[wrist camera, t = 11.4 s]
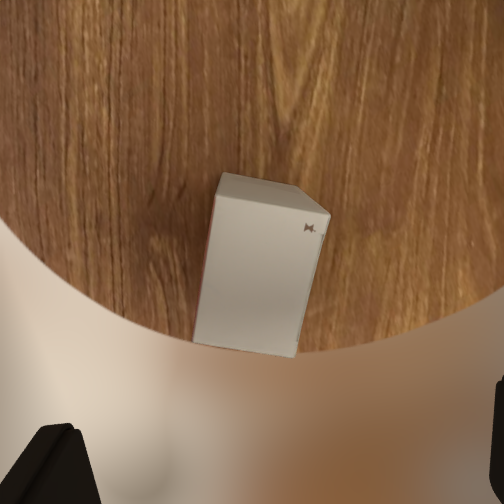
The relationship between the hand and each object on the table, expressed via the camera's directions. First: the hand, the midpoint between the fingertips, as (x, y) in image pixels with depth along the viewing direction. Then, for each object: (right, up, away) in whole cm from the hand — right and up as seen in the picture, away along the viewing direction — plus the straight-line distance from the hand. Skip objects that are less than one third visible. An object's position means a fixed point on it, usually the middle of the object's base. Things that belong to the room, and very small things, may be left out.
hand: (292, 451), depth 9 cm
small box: (-1, +6, +20) cm, 21 cm away
